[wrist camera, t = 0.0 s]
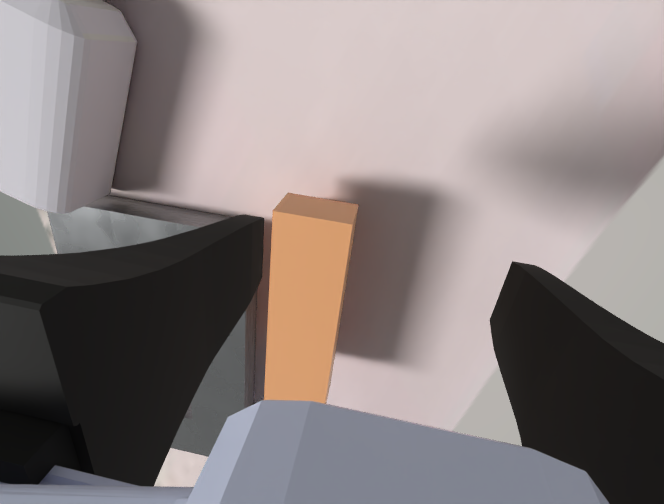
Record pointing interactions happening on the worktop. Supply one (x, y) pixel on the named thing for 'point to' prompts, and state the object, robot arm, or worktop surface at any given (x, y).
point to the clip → (306, 294)
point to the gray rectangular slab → (237, 351)
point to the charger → (62, 99)
